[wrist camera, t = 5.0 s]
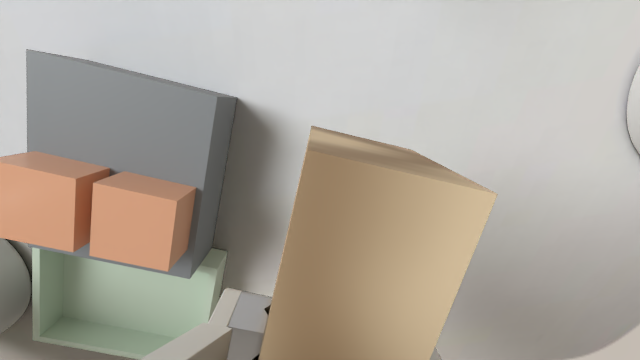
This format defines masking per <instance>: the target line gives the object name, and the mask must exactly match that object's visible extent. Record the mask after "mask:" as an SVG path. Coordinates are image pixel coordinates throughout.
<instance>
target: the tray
mask: <svg viewBox="0 0 640 360" xmlns="http://www.w3.org/2000/svg"><path fill="white" fill-rule="evenodd" d="M227 253H228V251H223V250H219V249H214V248H212V249H211V250H210V251H209V253H208V254H207V256H206V257H205V258H204V260H203V261H202V263H201V264H200V266H199V267H198V268H197V270H196V271H195V273H194V274H193V275H192V277H191V278H190V279H186V278H181V277H177V276H172V275H167V274H162V273H157V272H152V271H147V270H142V269H137V268H132V267H127V266H122V265H117V264H112V263H107V262H102V261H97V260H92V259H87V258H82V257H77V256H72V255H68V254H63V253H58V252H53V251H48V250H43V249H38V248H33V247H32V340H33V341H38V342H44V343H49V344H55V345H60V346H66V347H71V348H77V349H83V350H88V351H94V352H99V353H105V354H110V355H116V356H122V357H127V358H133V359H138V360H140V359H141V358H143V357H145V356H146V355H148V354H150V353H152V352H153V351H155V350H157V349H158V348H160V347H162V346H164V345H165V344H167V343H169V342H170V341H172V340H174V339H176V338H177V337H179V336H181V335H182V334H184V333H186V332H188V331H189V330H191V329H193V328H195V327H196V326H198V325H200V324H201V323H208V322H209V320H210V318H211V316H212V314H213V312H214V310H215V308H216V306H217V304H218V301H219V297H220V291H221V286H222V280H223V275H224V269H225V264H226V258H227Z"/></svg>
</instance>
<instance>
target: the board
mask: <svg viewBox="0 0 640 360" xmlns="http://www.w3.org/2000/svg"><path fill="white" fill-rule="evenodd" d="M26 67H27V152H32V151H37V152H42V153H46V154H50V155H55V156H59V157H64V158H68V159H73V160H77V161H82V162H86V163H90V164H95V165H99V166H104V167H108V168H110V173H109V177H110V176H113V175H115V174H118V173H121V172H124V171H126V172H130V173H135V174H139V175H144V176H148V177H153V178H157V179H162V180H166V181H170V182H175V183H179V184H184V185H188V186H193V187H196V193H195V200H194V207H193V214H192V221H191V228H190V235H189V242H188V249H187V250H186V252H185V253H184V254H183V255H182V256H181V257H180V259H179V260H178V261H177V262H176V263H175V264H174V265H173V267H172V268H171V269H170V270H169V271H168V272H167V271H162V270H157V269H152V268H147V267H142V266H138V265H133V264H128V263H123V262H118V261H113V260H108V259H103V258H98V257H93V256H89V253H90V242H89V243H88V244H86V245H84V246H83V247H81V248H80V249H78V250H76V251H75V252H68V251H63V250H59V249H54V248H49V247H44V246H39V245H34V244H29V243H28V247H33V248H38V249H43V250H48V251H53V252H58V253H63V254H68V255H72V256H77V257H82V258H87V259H92V260H97V261H102V262H107V263H112V264H117V265H122V266H127V267H132V268H137V269H142V270H147V271H152V272H157V273H162V274H167V275H172V276H177V277H181V278H186V279H190V278H191V277H192V275H193V274H194V273H195V271H196V270H197V268H198V267H199V266H200V264H201V263H202V261H203V260H204V258H205V257H206V256H207V254H208V253H209V251H210V250H211V249H212V244H213V238H214V232H215V226H216V221H217V215H218V209H219V203H220V197H221V191H222V185H223V179H224V173H225V167H226V161H227V155H228V149H229V143H230V137H231V131H232V125H233V119H234V113H235V107H236V101H237V97H233V96H229V95H225V94H221V93H217V92H213V91H209V90H205V89H201V88H197V87H193V86H189V85H185V84H181V83H177V82H173V81H169V80H165V79H161V78H157V77H153V76H149V75H145V74H141V73H137V72H133V71H129V70H125V69H121V68H117V67H113V66H109V65H105V64H101V63H97V62H93V61H89V60H84V59H79V58H73V57H67V56H62V55H56V54H51V53H45V52H39V51H34V50H28V49H26Z"/></svg>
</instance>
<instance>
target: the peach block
mask: <svg viewBox="0 0 640 360" xmlns="http://www.w3.org/2000/svg"><path fill="white" fill-rule="evenodd" d="M195 193H196V187H193V186H188V185H184V184H179V183H175V182H170V181H166V180H162V179H157V178H153V177H148V176H144V175H139V174H135V173H130V172H126V171H124V172H121V173H118V174H115V175H113V176H110V177H107V178H104V179H102V180H99V181H96V182H94V183H93V194H92V214H91V233H90V253H89V256H93V257H98V258H103V259H108V260H113V261H118V262H123V263H128V264H133V265H138V266H142V267H147V268H152V269H157V270H162V271H167V272H168V271H169V270H170V269H171V268H172V267H173V265H174V264H175V263H176V262H177V261H178V260H179V259H180V257H181V256H182V255H183V254H184V253H185V252H186V250H187V249H188V242H189V235H190V228H191V221H192V214H193V207H194V200H195Z"/></svg>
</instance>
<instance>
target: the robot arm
mask: <svg viewBox="0 0 640 360" xmlns="http://www.w3.org/2000/svg"><path fill="white" fill-rule="evenodd" d="M627 125H628V130H629V134H630V137H631V140H632V142H633V144H634V146H635V148H636V150H637V151H638V153H639V155H640V65H639V67H638V69H637V71H636V74H635V76H634V79H633V81H632V85H631V88H630V92H629V96H628V103H627ZM271 301H272V297H269V296H265V295H260V294H256V293H251V292H246V291H241V290H236V289H232V288H226V289H225V290H224V291H223V293H222V295H221V297H220V299H219V301H218V304H217V306H216V308H215V310H214V312H213V314H212V316H211V318H210V320H209V322H208V323H201V324H200V325H198V326H196V327H195V328H193V329H191V330H189V331H188V332H186V333H184V334H182V335H181V336H179V337H177V338H176V339H174V340H172V341H170V342H169V343H167V344H165V345H164V346H162V347H160V348H158V349H157V350H155V351H153V352H152V353H150V354H148V355H146V356H145V357H143V358H141V359H140V360H258V359H259V355H260V350H261V346H262V341H263V337H264V333H265V328H266V324H267V319H268V315H269V310H270V306H271ZM430 360H442V359H441V357H440V355H439V353H438V351H437V349H436V347H435V348H434V350H433V353H432V355H431V358H430Z"/></svg>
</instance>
